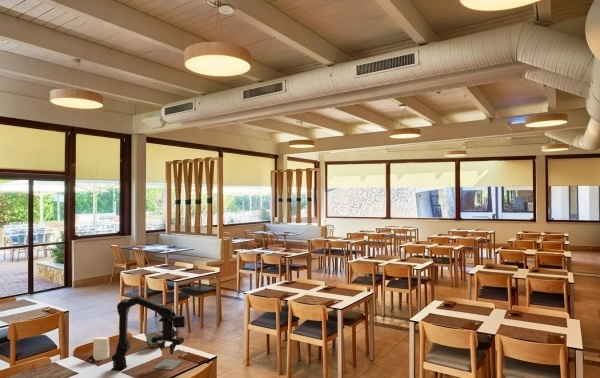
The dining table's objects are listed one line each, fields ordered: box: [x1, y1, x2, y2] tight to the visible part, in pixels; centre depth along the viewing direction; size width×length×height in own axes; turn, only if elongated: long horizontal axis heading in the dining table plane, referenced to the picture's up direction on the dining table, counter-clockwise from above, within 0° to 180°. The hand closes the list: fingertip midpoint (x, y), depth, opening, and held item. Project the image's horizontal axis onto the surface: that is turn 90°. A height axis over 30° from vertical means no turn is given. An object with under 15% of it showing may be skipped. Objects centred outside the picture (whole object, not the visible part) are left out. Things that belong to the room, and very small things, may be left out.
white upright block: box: [92, 336, 110, 361], centre depth 254 cm, size 9×9×12 cm
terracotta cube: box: [161, 345, 175, 359], centre depth 241 cm, size 5×5×5 cm
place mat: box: [153, 358, 184, 371], centre depth 241 cm, size 12×12×1 cm
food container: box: [144, 331, 163, 350], centre depth 268 cm, size 12×6×10 cm, turn 112°
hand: (167, 354), depth 241 cm, fingers closed on terracotta cube, 5 cm apart
